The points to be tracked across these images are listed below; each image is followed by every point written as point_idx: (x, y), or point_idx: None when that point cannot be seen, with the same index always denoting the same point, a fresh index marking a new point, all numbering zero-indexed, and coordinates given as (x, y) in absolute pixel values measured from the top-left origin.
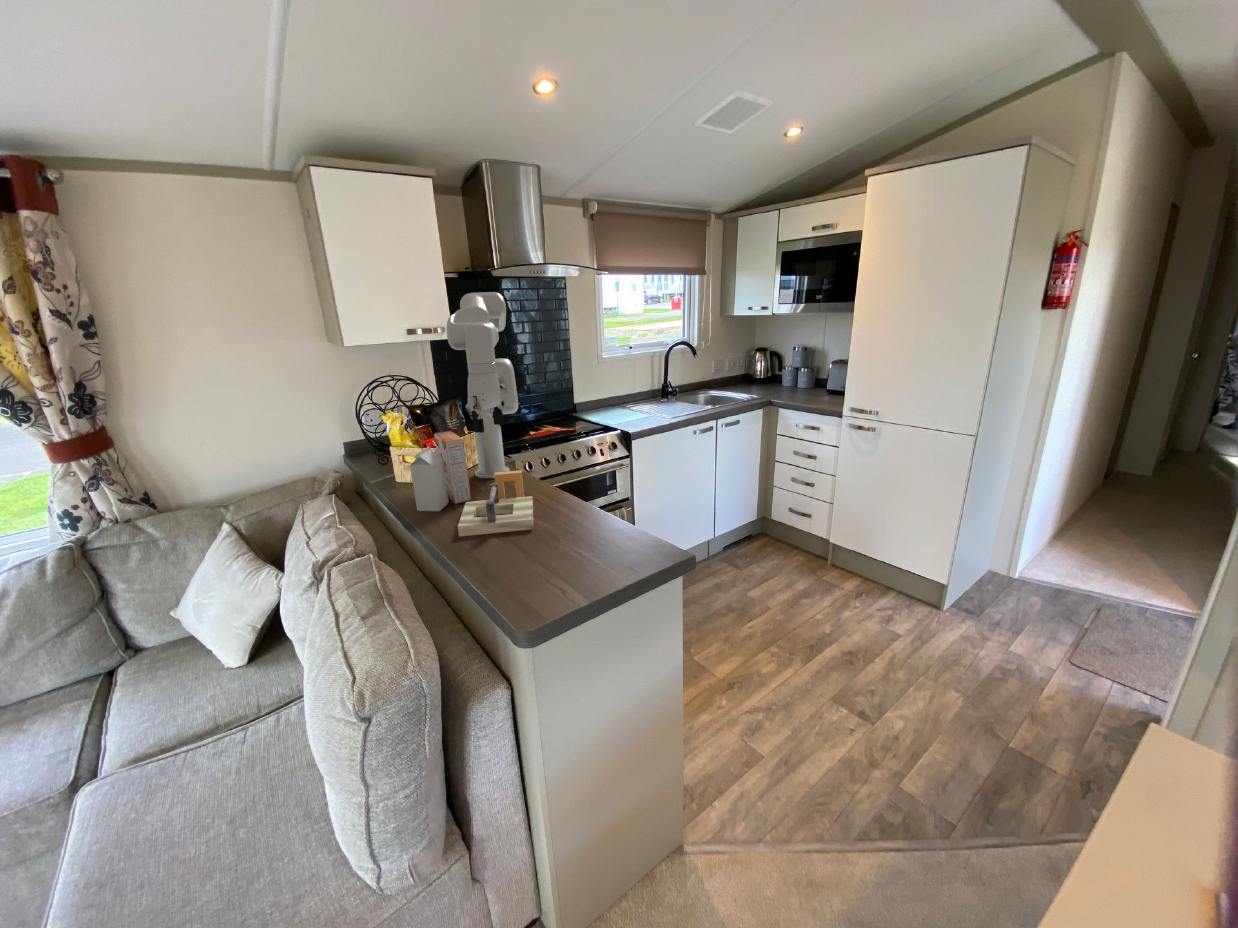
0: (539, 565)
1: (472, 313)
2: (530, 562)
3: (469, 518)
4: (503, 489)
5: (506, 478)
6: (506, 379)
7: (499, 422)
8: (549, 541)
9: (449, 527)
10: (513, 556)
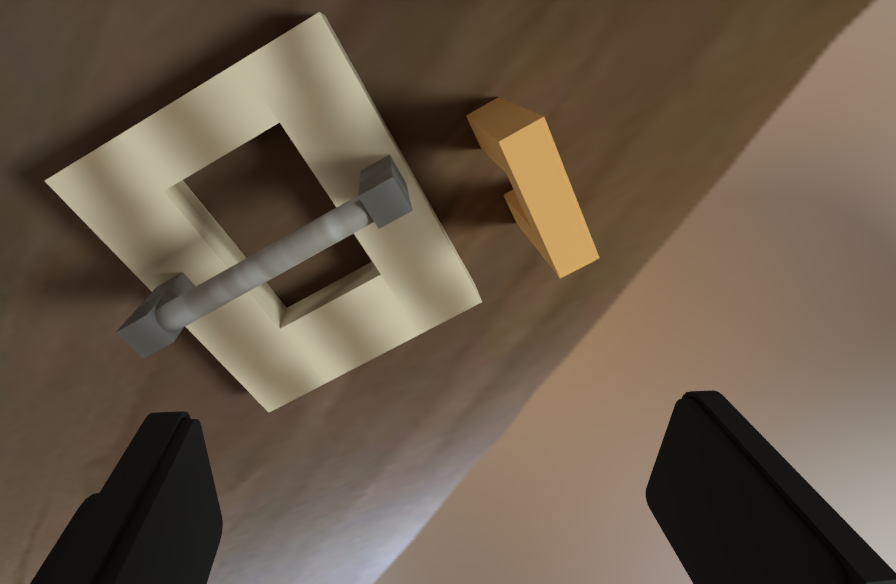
0: (79, 506)
1: None
2: (78, 482)
3: (149, 178)
4: (494, 161)
5: (519, 197)
6: None
7: (669, 491)
8: (220, 464)
9: (120, 53)
10: (76, 429)
